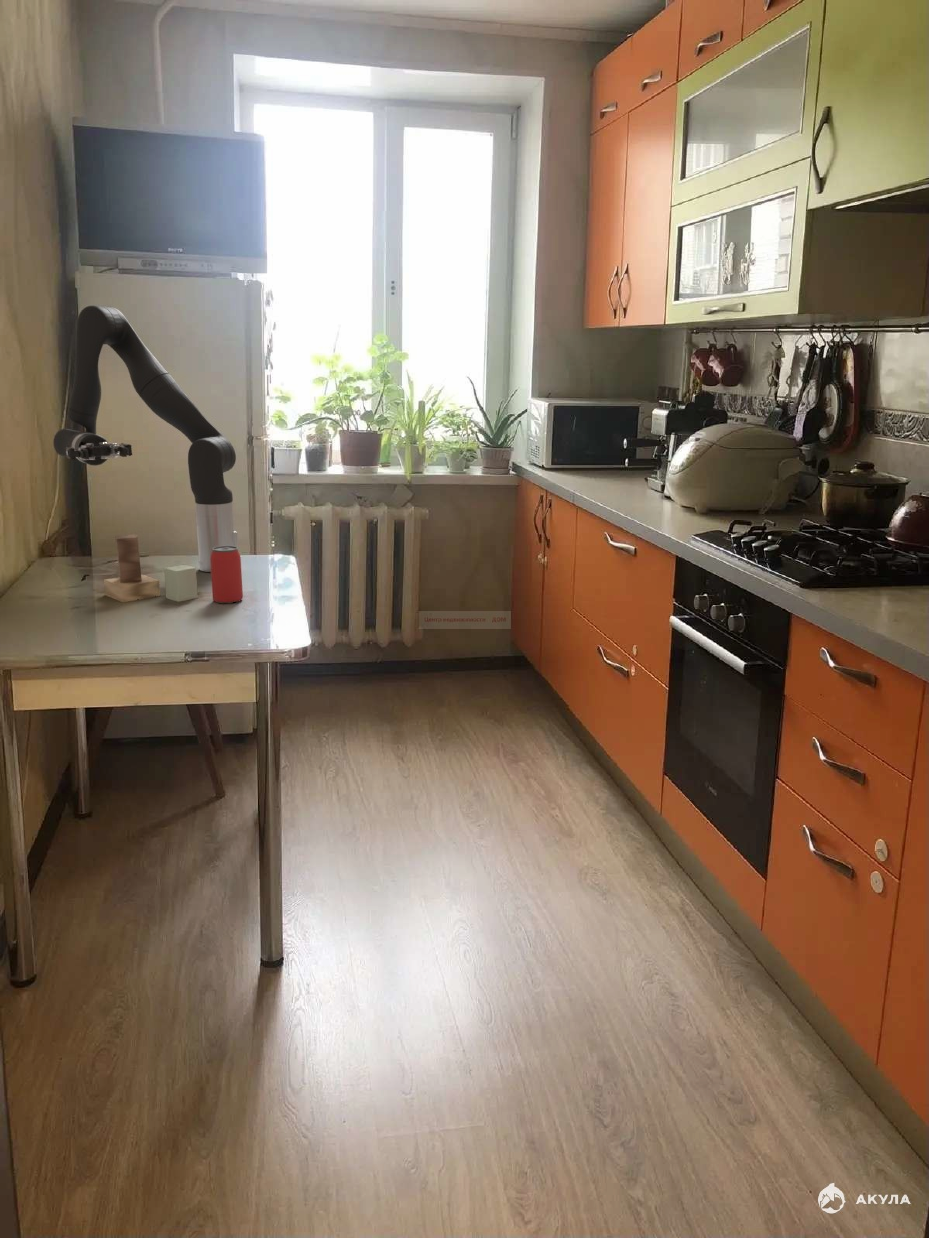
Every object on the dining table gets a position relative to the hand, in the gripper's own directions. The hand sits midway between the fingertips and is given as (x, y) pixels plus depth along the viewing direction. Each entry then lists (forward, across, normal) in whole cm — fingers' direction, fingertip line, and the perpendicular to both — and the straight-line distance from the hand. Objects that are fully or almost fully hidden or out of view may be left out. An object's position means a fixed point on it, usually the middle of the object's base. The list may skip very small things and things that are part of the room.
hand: (106, 453), depth 232 cm
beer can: (+28, +16, +32) cm, 46 cm away
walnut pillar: (+12, 0, +28) cm, 30 cm away
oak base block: (+12, 0, +32) cm, 34 cm away
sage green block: (+20, +8, +32) cm, 39 cm away
